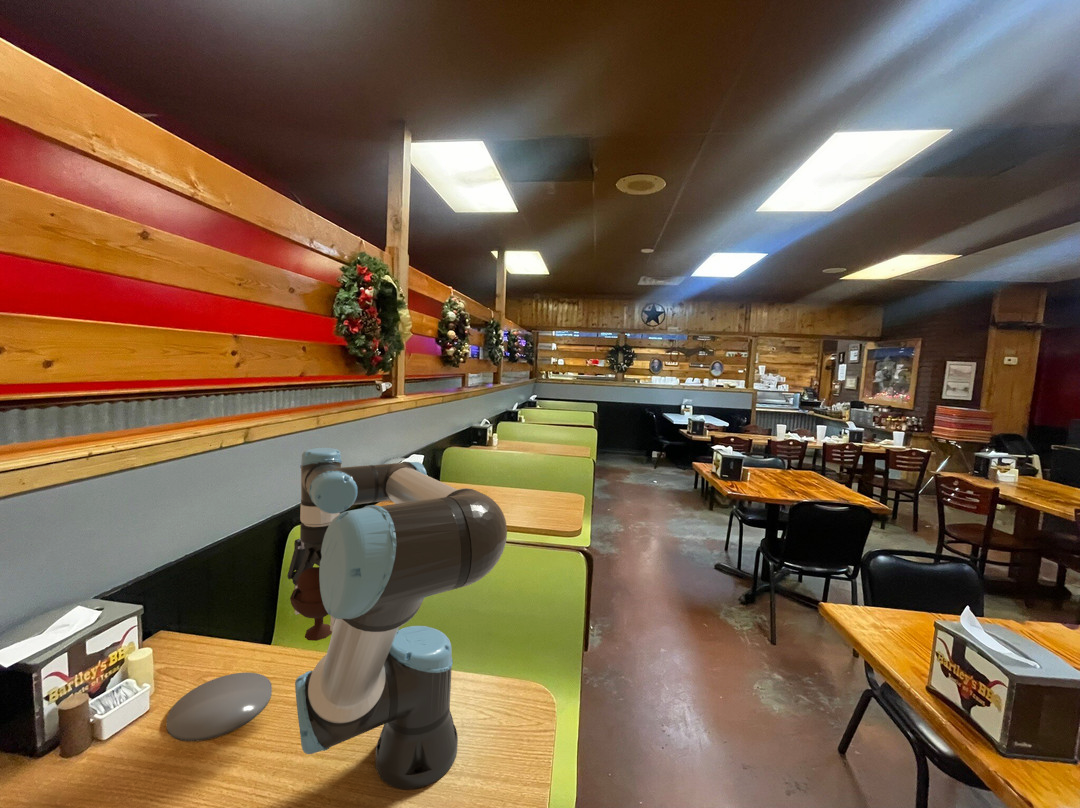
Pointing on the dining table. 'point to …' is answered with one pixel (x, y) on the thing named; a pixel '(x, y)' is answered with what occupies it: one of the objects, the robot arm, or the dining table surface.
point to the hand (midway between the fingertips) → (318, 619)
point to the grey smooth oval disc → (219, 706)
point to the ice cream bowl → (311, 603)
